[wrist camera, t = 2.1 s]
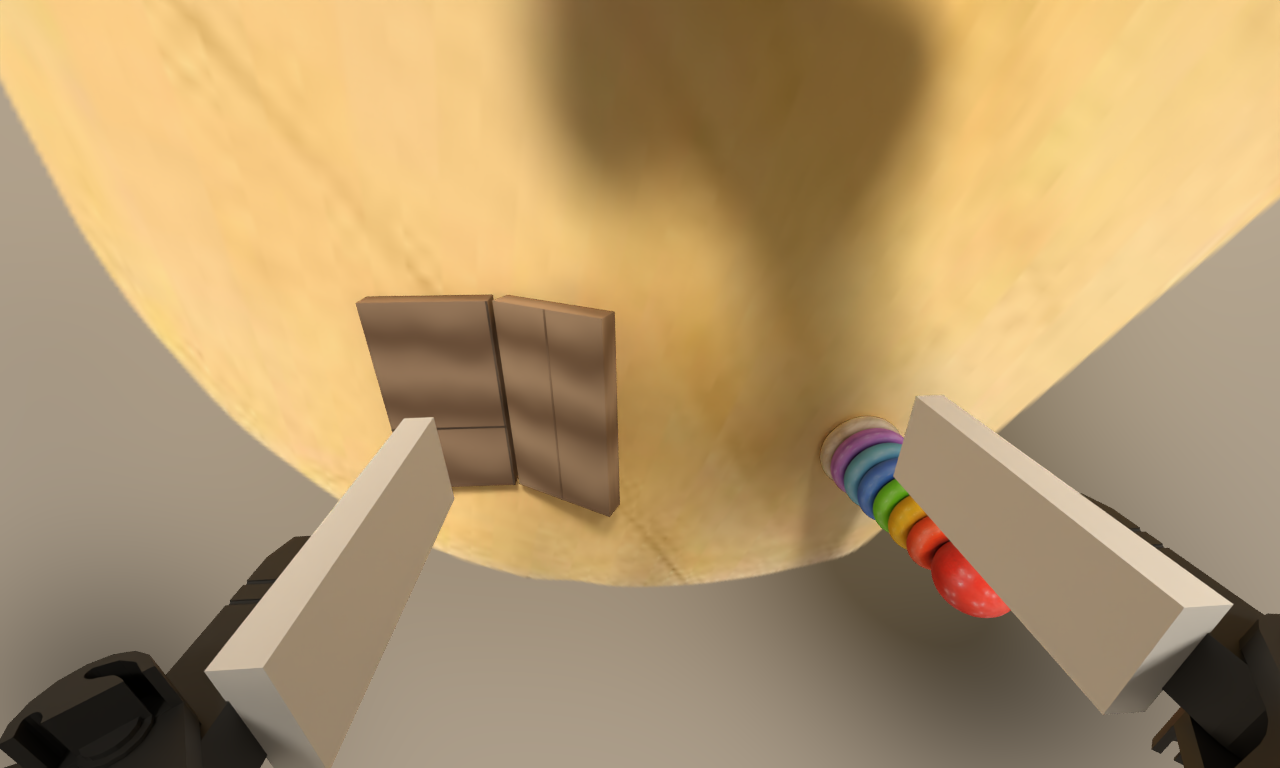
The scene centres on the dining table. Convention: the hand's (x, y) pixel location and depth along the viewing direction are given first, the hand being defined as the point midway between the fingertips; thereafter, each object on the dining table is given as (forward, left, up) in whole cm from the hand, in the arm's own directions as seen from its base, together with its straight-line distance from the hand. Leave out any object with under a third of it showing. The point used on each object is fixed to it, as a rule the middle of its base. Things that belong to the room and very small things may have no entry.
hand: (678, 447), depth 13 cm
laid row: (0, -20, -27) cm, 34 cm away
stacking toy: (+28, +7, -27) cm, 40 cm away
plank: (+6, -12, -24) cm, 27 cm away
